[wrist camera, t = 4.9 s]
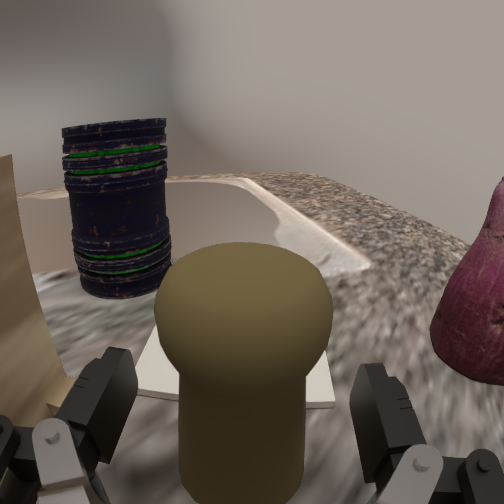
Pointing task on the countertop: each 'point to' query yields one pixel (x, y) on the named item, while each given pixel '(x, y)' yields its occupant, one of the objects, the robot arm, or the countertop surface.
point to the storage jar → (118, 205)
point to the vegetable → (476, 304)
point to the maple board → (23, 326)
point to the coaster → (167, 378)
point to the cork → (242, 366)
